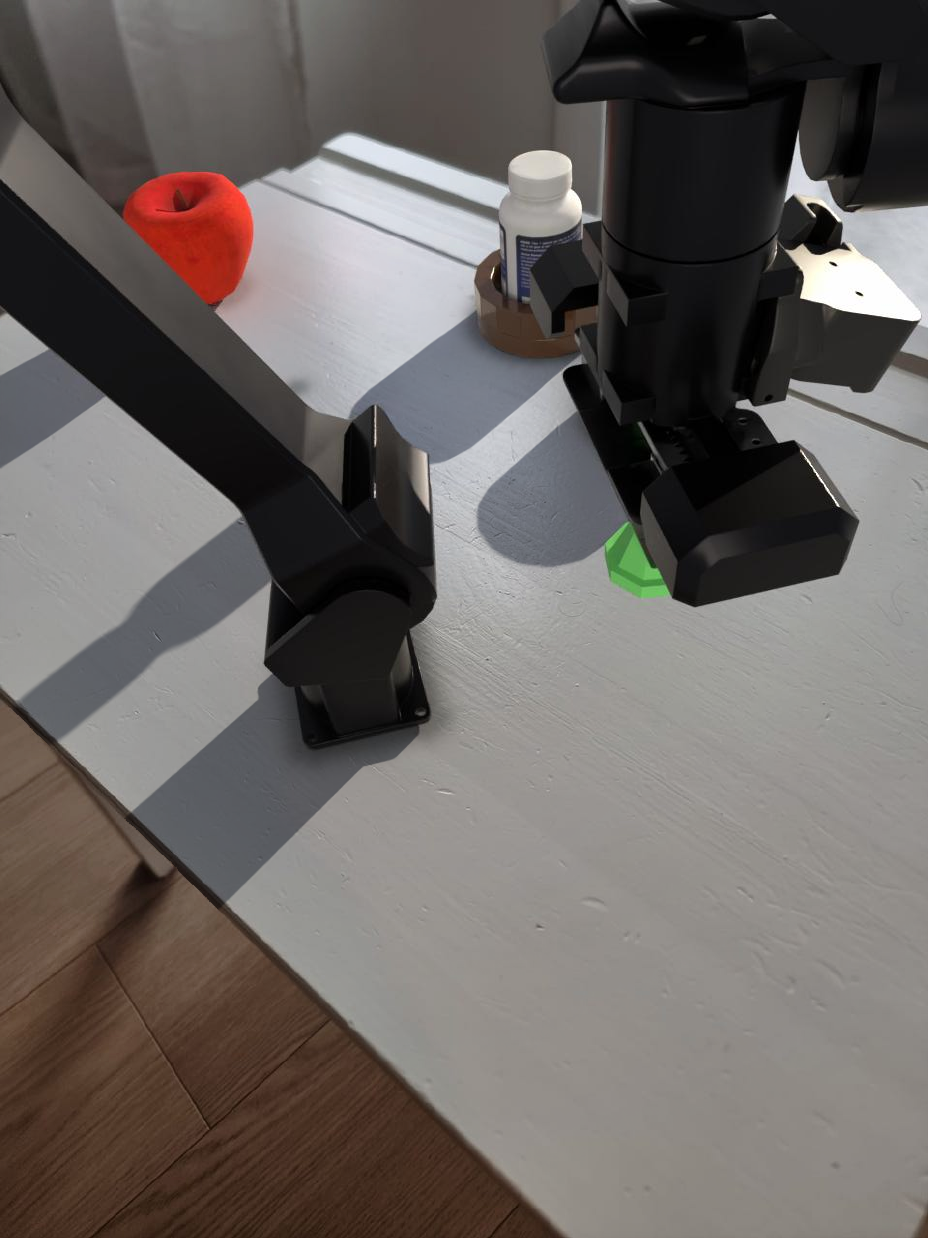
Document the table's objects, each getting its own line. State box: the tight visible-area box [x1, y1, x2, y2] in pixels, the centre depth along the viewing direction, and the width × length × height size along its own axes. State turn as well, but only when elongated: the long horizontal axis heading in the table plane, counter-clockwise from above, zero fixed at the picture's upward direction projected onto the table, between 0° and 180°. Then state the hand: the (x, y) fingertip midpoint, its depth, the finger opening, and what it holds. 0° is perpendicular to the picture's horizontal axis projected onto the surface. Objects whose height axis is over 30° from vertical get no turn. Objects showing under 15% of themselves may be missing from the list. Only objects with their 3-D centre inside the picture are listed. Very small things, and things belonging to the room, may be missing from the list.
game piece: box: [604, 521, 671, 599], centre depth 43 cm, size 4×4×6 cm
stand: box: [473, 248, 598, 359], centre depth 69 cm, size 9×9×4 cm
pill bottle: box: [498, 149, 583, 304], centre depth 66 cm, size 5×5×10 cm
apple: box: [122, 171, 254, 306], centre depth 73 cm, size 9×9×8 cm
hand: (652, 545), depth 44 cm, fingers closed on game piece, 2 cm apart
